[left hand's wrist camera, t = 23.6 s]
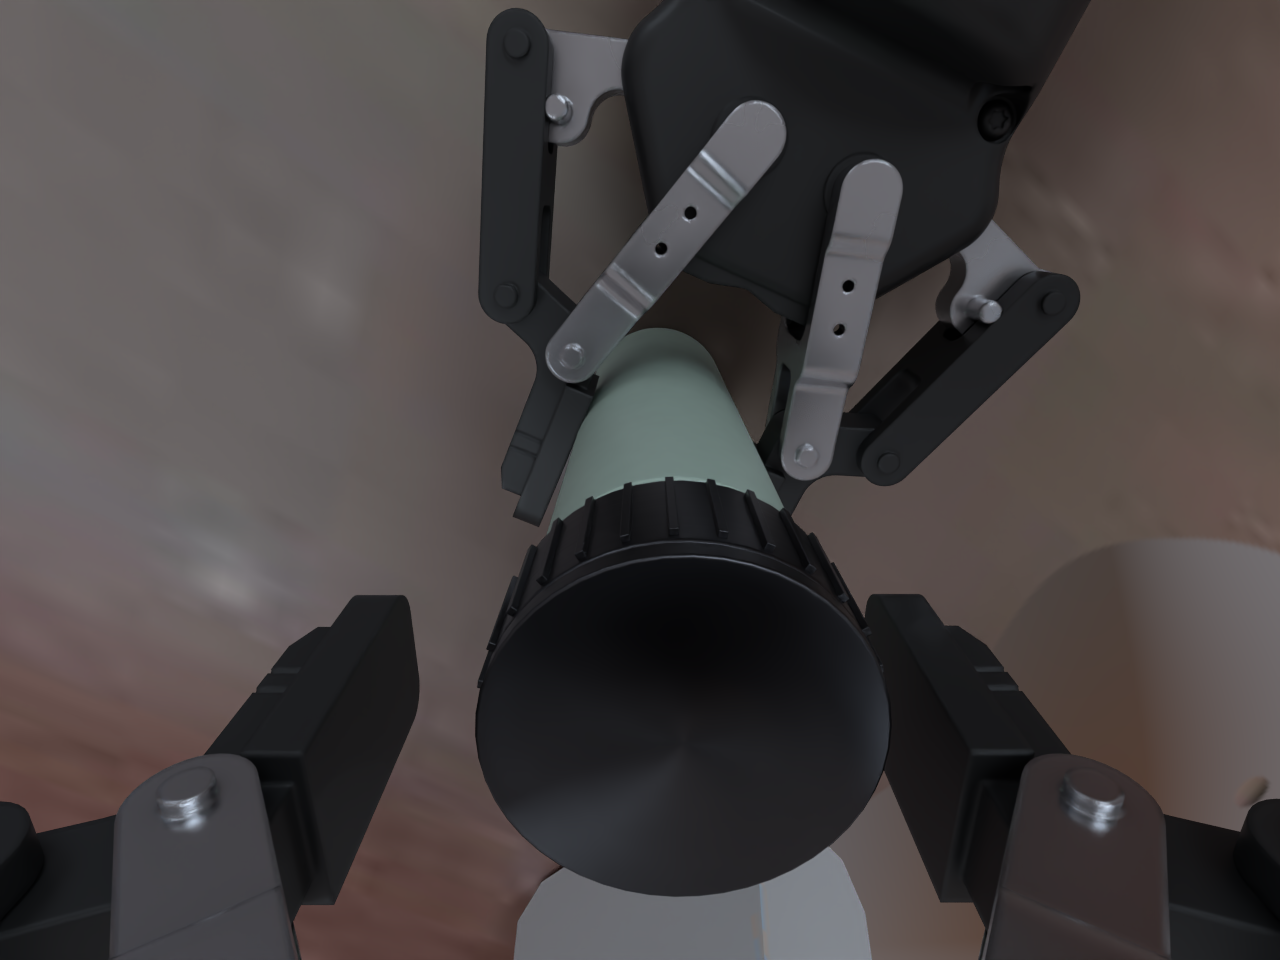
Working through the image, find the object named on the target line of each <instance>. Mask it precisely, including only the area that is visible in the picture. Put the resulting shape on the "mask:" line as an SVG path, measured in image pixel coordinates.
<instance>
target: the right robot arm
mask: <svg viewBox="0 0 1280 960" xmlns="http://www.w3.org/2000/svg"><path fill="white" fill-rule="evenodd" d="M1090 1H1091V0H663V1H662V2H661V3H660V5H659V6H658V7H657V8H655V9H654V10H653V11H652V12H651V13H650V14H648V15H647V16H646V17H645V18H644V19H643V20H642V21H641V22H640V23H639V24H638V25H637V26H636V28H635V29H634V31H633V32H632V34H631V35H630V37H629V39H622V38H614V37H606V36H598V35H590V34H582V33H574V32H566V31H558V30H550V29H546V28H545V27H544V25H543V24H542V22H541V21H540V20H539V19H538V18H537V17H536V16H535V15H534V14H533V13H531V12H529V11H527V10H524V9H520V8H511V9H507V10H505V11H503V12H501V13H500V14H498V15H497V16H496V17H495V18H494V20H493V21H492V23H491V25H490V27H489V29H488V33H487V41H486V72H485V103H484V134H483V165H482V196H481V227H480V258H479V289H478V295H479V301H480V304H481V307H482V309H483V310H484V312H485V313H486V314H487V315H488V316H489V317H490V318H491V319H493V320H495V321H497V322H499V323H503V324H506V325H507V326H508V327H509V328H510V329H511V330H512V331H514V332H515V333H516V334H517V335H518V336H519V337H520V338H521V339H522V340H523V341H525V342H526V343H527V345H528V346H529V347H530V348H531V350H532V352H533V354H534V356H535V359H536V363H537V374H536V378H535V381H534V384H533V387H532V389H531V392H530V394H529V397H528V399H527V402H526V405H525V407H524V410H523V412H522V415H521V417H520V420H519V423H518V425H517V428H516V431H515V433H514V435H513V438H512V441H511V443H510V446H509V448H508V451H507V453H506V456H505V459H504V461H503V464H502V466H501V478H502V488H503V489H505V490H508V491H510V492H513V493H515V494H518V495H520V496H521V497H520V500H519V502H518V505H517V507H516V509H515V512H514V515H513V517H515V518H518V519H520V520H523V521H525V522H528V523H530V524H533V525H535V526H538V527H539V525H540V523H541V521H542V519H543V516H544V514H545V511H546V509H547V507H548V504H549V502H550V500H551V497H552V495H553V492H554V490H555V488H556V485H557V483H558V480H559V478H560V476H561V473H562V471H563V469H564V466H565V464H566V461H567V459H568V457H569V454H570V452H571V450H572V447H573V445H574V442H575V440H576V437H577V433H578V431H579V429H580V427H581V425H582V423H583V421H584V419H585V416H586V414H587V412H588V409H589V407H590V404H591V402H592V400H593V397H594V394H595V390H596V387H597V383H598V380H599V376H598V375H595V374H594V373H595V371H596V370H597V369H598V368H599V367H600V365H601V364H602V363H603V362H604V361H605V359H606V358H607V357H608V356H609V354H610V353H611V352H612V351H613V350H614V348H615V347H616V346H617V345H618V344H619V342H620V341H621V340H622V339H623V338H624V336H625V335H626V334H627V333H628V332H629V330H630V329H631V328H632V327H633V326H634V324H635V323H636V322H637V321H638V320H639V319H640V317H641V316H642V315H643V314H644V313H646V312H647V311H648V310H649V309H650V308H651V307H652V306H653V304H654V303H655V302H656V301H657V300H658V299H659V298H660V296H661V295H662V294H663V293H664V292H665V290H666V289H667V288H668V287H669V286H670V284H671V283H672V282H673V281H674V280H675V278H676V277H677V276H678V275H679V274H680V272H681V271H684V272H686V273H688V274H690V275H693V276H695V277H697V278H699V279H702V280H704V281H706V282H708V283H712V284H719V285H725V286H732V287H738V288H744V289H747V290H748V291H750V292H751V293H752V294H753V295H754V296H756V297H757V298H758V299H759V300H760V301H761V302H763V303H764V304H765V305H766V306H767V307H769V308H770V309H771V310H772V311H773V312H775V313H777V314H779V315H781V321H780V327H779V332H778V338H777V346H776V356H777V363H776V370H775V376H774V381H773V387H772V392H771V397H770V403H769V408H768V414H767V419H766V425H765V431H764V433H763V435H762V437H761V439H760V441H759V443H758V444H756V443H754V442H753V444H754V446H755V448H756V450H757V452H758V454H759V456H760V458H761V460H762V462H763V465H764V467H765V469H766V471H767V473H768V475H769V477H770V479H771V481H772V483H773V485H774V488H775V490H776V492H777V494H778V496H779V498H780V500H781V502H782V504H783V506H784V508H785V509H786V510H788V511H789V513H790V515H792V513H793V511H794V510H795V508H796V506H797V504H798V502H799V500H800V499H801V497H802V495H803V493H804V492H805V490H806V489H807V488H808V487H809V486H810V485H811V484H812V483H813V482H815V481H816V480H818V479H820V478H822V477H826V476H831V475H843V476H861V477H866V478H867V479H868V480H869V481H870V482H871V483H873V484H875V485H879V486H890V485H894V484H896V483H898V482H900V481H902V480H903V479H904V478H905V477H906V476H907V475H908V474H910V473H911V472H912V471H913V470H914V469H915V468H916V467H917V466H918V465H919V464H920V463H921V462H922V461H923V460H924V459H925V458H926V457H927V456H928V455H929V454H930V453H932V452H933V451H934V450H935V449H936V448H937V447H938V446H939V445H940V444H941V443H942V442H943V441H944V440H945V439H946V438H947V437H948V436H949V435H950V434H951V433H952V432H954V431H955V430H956V429H957V428H958V427H959V426H960V425H961V424H962V423H963V422H964V421H965V420H966V419H967V418H968V417H969V416H970V415H971V414H972V413H973V412H975V411H976V410H977V409H978V408H979V407H980V406H981V405H982V404H983V403H984V402H985V401H986V400H987V399H988V398H989V397H990V396H991V395H992V394H993V393H994V392H995V391H997V390H998V389H999V388H1000V387H1001V386H1002V385H1003V384H1004V383H1005V382H1006V381H1007V380H1008V379H1009V378H1010V377H1011V376H1012V375H1013V374H1014V373H1015V372H1016V371H1017V370H1019V369H1020V368H1021V367H1022V366H1023V365H1024V364H1025V363H1026V362H1027V361H1028V360H1029V359H1030V358H1031V357H1032V356H1033V355H1034V354H1035V353H1036V352H1037V351H1038V350H1040V349H1041V348H1042V347H1043V346H1044V345H1045V344H1046V343H1047V342H1048V341H1049V340H1050V339H1051V338H1052V337H1053V336H1054V335H1055V334H1056V333H1057V332H1058V331H1059V330H1060V329H1062V328H1063V327H1064V326H1065V325H1066V324H1067V323H1068V322H1069V321H1070V320H1071V319H1072V318H1073V316H1074V315H1075V313H1076V311H1077V309H1078V307H1079V303H1080V291H1079V288H1078V286H1077V284H1076V282H1075V281H1074V280H1073V279H1071V278H1070V277H1068V276H1066V275H1063V274H1057V273H1052V272H1049V271H1046V270H1042V269H1040V268H1038V267H1037V266H1036V265H1035V264H1034V263H1033V262H1032V261H1031V260H1030V259H1029V258H1028V257H1027V256H1026V255H1025V253H1024V252H1023V251H1022V250H1021V249H1020V248H1019V247H1018V246H1017V245H1016V244H1015V243H1014V242H1013V241H1012V240H1011V239H1010V238H1009V237H1008V236H1007V235H1006V234H1005V232H1004V231H1003V230H1002V229H1001V228H1000V227H999V226H998V225H997V224H996V223H995V222H994V221H993V220H992V218H993V216H994V213H995V210H996V207H997V203H998V198H999V179H1000V171H1001V166H1002V161H1003V157H1004V154H1005V151H1006V148H1007V145H1008V143H1009V141H1010V139H1011V137H1012V135H1013V133H1014V132H1015V130H1016V128H1017V127H1018V125H1019V124H1020V122H1021V121H1022V119H1023V118H1024V116H1025V115H1026V113H1027V112H1028V110H1029V108H1030V107H1031V105H1032V104H1033V102H1034V100H1035V99H1036V97H1037V96H1038V94H1039V92H1040V91H1041V89H1042V87H1043V85H1044V83H1045V82H1046V80H1047V78H1048V76H1049V74H1050V73H1051V71H1052V69H1053V67H1054V66H1055V64H1056V62H1057V60H1058V58H1059V57H1060V55H1061V53H1062V51H1063V49H1064V48H1065V46H1066V44H1067V42H1068V40H1069V39H1070V37H1071V35H1072V33H1073V31H1074V30H1075V28H1076V26H1077V24H1078V22H1079V21H1080V19H1081V17H1082V15H1083V13H1084V12H1085V10H1086V8H1087V6H1088V4H1089V3H1090ZM617 95H624V96H625V101H626V106H627V111H628V116H629V121H630V126H631V130H632V135H633V140H634V145H635V150H636V155H637V160H638V164H639V169H640V174H641V179H642V184H643V189H644V194H645V198H646V203H647V208H648V213H649V215H648V216H647V217H646V218H645V220H644V221H643V222H642V223H641V225H640V226H639V227H638V228H637V230H636V231H635V232H634V233H633V235H632V236H631V237H630V238H629V240H628V241H627V242H626V243H625V245H624V246H623V247H622V249H621V250H620V251H619V252H618V254H617V255H616V256H615V257H614V259H613V260H612V261H611V262H610V264H609V265H608V266H607V268H606V269H605V270H604V271H603V273H602V274H601V275H600V276H599V278H598V279H597V280H596V281H595V283H594V284H593V285H592V286H591V288H590V289H589V290H588V291H587V293H586V294H585V295H584V297H583V298H582V299H581V300H580V302H579V303H578V304H577V305H576V304H575V303H574V302H573V301H572V300H571V299H570V298H569V297H568V296H566V295H565V294H564V293H563V292H562V291H561V290H560V289H559V288H558V287H557V286H556V285H555V284H554V283H553V282H552V281H551V280H549V269H550V253H551V238H552V222H553V207H554V192H555V176H556V161H557V146H564V147H568V146H573V145H575V144H577V143H579V142H580V141H582V140H583V139H584V138H585V136H586V135H587V133H588V132H589V129H590V127H591V122H592V118H593V115H594V112H595V110H596V109H597V107H598V106H599V105H600V103H602V102H603V101H604V100H606V99H607V98H609V97H612V96H617ZM657 244H659V246H660V247H657V246H656V245H657ZM948 258H949V259H950V264H951V271H950V276H949V279H948V281H947V283H946V284H945V286H944V287H943V288H942V290H941V291H940V293H939V295H938V297H937V300H936V307H935V309H936V314H937V317H938V319H939V321H938V322H937V323H936V324H935V325H934V326H933V327H932V328H931V329H930V330H929V331H928V332H927V333H926V334H925V335H924V336H923V337H922V338H921V339H920V340H919V341H918V342H917V343H916V344H915V346H914V347H913V348H912V349H911V350H910V351H909V352H908V353H907V354H906V355H905V356H904V357H903V358H902V359H901V360H900V361H899V362H898V363H897V364H896V365H895V366H894V367H893V368H892V369H891V370H890V371H889V372H888V373H887V374H886V375H885V376H884V377H883V378H882V379H881V380H880V381H879V382H878V383H877V384H876V385H875V386H874V387H873V388H872V389H871V390H870V391H869V392H868V393H867V394H866V395H865V396H864V397H863V398H862V399H861V400H860V401H859V402H858V403H857V404H856V405H855V406H854V407H853V408H852V409H851V410H850V411H849V413H845V412H843V409H844V404H845V399H846V395H847V392H848V390H849V388H850V387H851V386H852V385H853V384H854V382H855V381H856V378H857V376H858V372H859V368H860V364H861V359H862V355H863V350H864V346H865V341H866V337H867V332H868V328H869V323H870V319H871V315H872V310H873V306H874V301H875V299H877V298H879V297H881V296H882V295H884V294H886V293H888V292H890V291H891V290H893V289H895V288H897V287H898V286H900V285H902V284H904V283H905V282H907V281H909V280H911V279H912V278H914V277H916V276H918V275H919V274H921V273H923V272H925V271H926V270H928V269H930V268H932V267H934V266H935V265H937V264H939V263H941V262H942V261H944V260H946V259H948ZM837 324H839V329H838V330H837V331H835V332H833V329H834V327H835V326H836V325H837Z"/></svg>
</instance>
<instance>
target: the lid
mask: <svg viewBox="0 0 1280 960" xmlns="http://www.w3.org/2000/svg"><path fill="white" fill-rule="evenodd" d="M871 634H872V632H871V630H870V628H869V626H868V624H867V622H866V621H865V619H864V617H863V615H862V613H861V611H860V610H859V608H858V606H857V604H856V602H855V600H854V599H853V597H852V595H851V593H850V591H849V589H848V588H847V586H846V584H845V582H844V580H843V578H842V577H841V575H840V573H839V571H838V569H837V567H836V566H835V564H834V562H833V563H830V561H829V559H828V557H827V556H826V554H825V552H824V550H823V548H822V546H821V544H820V542H819V541H818V539H817V537H816V536H815V535H814V534H813V533H811V534H809V535H807V534H806V533H805V532H804V531H803V530H802V529H801V528H800V527H799V526H798V525H796V524H795V523H794V521H793V519H792V517H791V515H790V513H789V511H788V510H786V509H785V508H782V509H781V510H780V511H779V510H777V509H776V508H774V507H773V506H771V505H770V504H768V503H766V502H764V501H762V500H760V499H758V498H757V497H756V495H755V492H754V491H751V490H749V489H747V490H746V492H745V493H744V492H741V491H738V490H735V489H732V488H729V487H725V486H720V485H716V482H715V480H713V479H707V481H706V482H696V481H684V480H678V481H674V479H673V477H665V481H657V482H651V483H645V484H638V485H634V486H633V485H632V482H629V483H625V484H624V487H623V489H620V490H617V491H613V492H611V493H609V494H606V495H604V496H602V497H599V498H597V499H594V497H593V496H591V497H589V498H587V499H586V500H585V505H584V506H582V507H581V508H579V509H577V510H576V511H574V512H572V513H571V514H570V515H569V516H567V517H566V518H565V519H564V520H561V519H560V518H559V517H558V518H557V519H556V520H555V521H553V524H552V527H551V531H550V532H549V533H548V534H547V535H546V536H545V537H544V538H543V539H542V540H541V542H540V543H539V544H538V546H537V547H535V546H534V545H531V546H530V547H529V549H528V551H527V554H526V556H525V559H524V562H523V565H522V568H521V571H520V574H519V577H516V576H513V577H512V580H511V582H510V585H509V588H508V590H507V593H506V596H505V599H504V601H503V604H502V607H501V610H500V612H499V615H498V618H497V621H496V624H495V626H494V629H493V632H492V635H491V637H490V640H489V643H488V646H487V648H486V649H487V650H489V651H488V654H487V657H486V660H485V663H484V665H483V668H482V671H481V674H480V677H479V680H478V685H477V687H478V688H480V692H479V697H478V703H477V708H476V719H475V738H476V745H477V752H478V758H479V762H480V765H481V768H482V771H483V775H484V778H485V781H486V783H487V785H488V787H489V789H490V791H491V794H492V796H493V798H494V800H495V802H496V803H497V805H498V806H499V808H500V809H501V811H502V812H503V814H504V815H505V817H506V818H507V819H508V821H509V822H510V823H511V824H512V825H513V826H514V827H515V828H516V830H517V831H518V832H519V833H520V834H521V835H522V836H523V837H524V838H525V839H526V840H527V841H528V842H529V843H531V844H532V845H533V846H534V847H535V848H536V849H537V850H539V851H540V852H541V853H543V854H544V855H546V856H547V857H549V858H550V859H552V860H553V861H554V862H556V863H557V864H559V865H561V866H563V867H565V868H566V869H568V870H570V871H572V872H574V873H576V874H578V875H580V876H582V877H585V878H587V879H590V880H592V881H595V882H597V883H600V884H603V885H606V886H610V887H613V888H617V889H620V890H624V891H629V892H635V893H640V894H646V895H655V896H669V897H690V896H705V895H713V894H722V893H727V892H731V891H736V890H740V889H745V888H749V887H752V886H755V885H758V884H761V883H764V882H767V881H770V880H772V879H774V878H777V877H779V876H781V875H783V874H785V873H788V872H790V871H792V870H794V869H796V868H797V867H799V866H801V865H802V864H804V863H806V862H807V861H809V860H811V859H812V858H814V857H815V856H817V855H818V854H819V853H821V852H822V851H823V850H825V849H826V848H827V847H829V846H830V845H831V844H832V843H834V842H835V841H836V840H837V839H838V838H839V837H840V836H841V835H842V834H843V833H844V832H845V831H846V830H847V829H848V828H849V827H850V826H851V825H852V823H853V822H854V821H855V820H856V818H857V817H858V816H859V815H860V813H861V812H862V811H863V810H864V808H865V806H866V805H867V803H868V801H869V800H870V798H871V796H872V795H873V793H874V791H875V790H876V787H877V785H878V783H879V780H880V778H881V775H882V773H883V771H884V768H885V764H886V760H887V756H888V752H889V748H890V739H891V728H892V717H891V702H890V697H889V693H888V688H887V684H886V680H885V677H884V674H883V672H884V668H883V664H882V662H881V660H880V658H879V656H878V655H877V653H876V651H875V649H874V647H873V645H872V643H871V641H870V640H869V638H868V636H869V635H871Z"/></svg>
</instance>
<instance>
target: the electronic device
mask: <svg viewBox="0 0 1280 960" xmlns="http://www.w3.org/2000/svg"><path fill="white" fill-rule="evenodd" d="M514 960H872V957H871V950H870V943H869V936H868V929H867V923H866V916H865V911H864V909H863V907H862V905H861V902H860V900H859V898H858V895H857V893H856V891H855V888H854V886H853V884H852V881H851V879H850V877H849V874H848V872H847V870H846V867H845V865H844V863H843V860H842V859H841V858H840V857H839V856H838V855H837V854H836V853H835V852H834V851H833V850H832V849H831V848H830V847H827V848H826V849H825V850H823V851H822V852H821V853H819V854H818V855H817V856H815V857H814V858H812V859H811V860H809V861H807V862H806V863H804V864H802V865H801V866H799V867H797V868H796V869H794V870H792V871H790V872H788V873H785V874H783V875H781V876H779V877H777V878H774V879H772V880H770V881H767V882H764V883H761V884H758V885H755V886H752V887H749V888H745V889H740V890H736V891H731V892H727V893H722V894H713V895H705V896H690V897H669V896H655V895H646V894H640V893H635V892H629V891H624V890H620V889H617V888H613V887H610V886H606V885H603V884H600V883H597V882H595V881H592V880H590V879H587V878H585V877H582V876H580V875H578V874H576V873H574V872H572V871H570V870H568V869H566V868H565V867H564V868H562V869H561V870H559V871H558V872H556V873H555V874H553V875H551V876H550V877H548V878H547V879H545V880H544V881H542V882H541V884H540V886H539V887H538V889H537V891H536V892H535V894H534V896H533V897H532V899H531V900H530V902H529V904H528V905H527V907H526V909H525V910H524V912H523V914H522V915H521V917H520V918H519V920H518V924H517V933H516V943H515V952H514Z"/></svg>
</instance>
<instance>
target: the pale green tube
mask: <svg viewBox="0 0 1280 960" xmlns="http://www.w3.org/2000/svg"><path fill="white" fill-rule="evenodd" d="M595 375H598V376H599V380H598V383H597V387H596V390H595V394H594V397H593V400H592V402H591V404H590V407H589V409H588V412H587V414H586V416H585V419H584V421H583V423H582V425H581V427H580V429H579V431H578V433H577V437H576V440H575V443H574V446H573V449H572V453H571V456H570V459H569V463H568V466H567V469H566V472H565V476H564V479H563V482H562V486H561V489H560V492H559V495H558V499H557V502H556V505H555V509H554V512H553V515H552V518H551V522H550V525H549V528H548V532H547V534H548V533H549V532H550V531H551V527H552V524H553V521H555V520H556V519H557V518H558V517H559V518H560V519H561V520H564V519H565V518H566V517H567V516H569V515H570V514H571V513H572V512H574V511H576V510H577V509H579V508H581V507H582V506H584V505H585V500H586V499H587V498H589V497H591V496H593V497H594V499H597V498H599V497H602V496H604V495H606V494H609V493H611V492H613V491H617V490H620V489H623V487H624V484H625V483H629V482H632V485H633V486H634V485H638V484H645V483H651V482H657V481H665V477H673V479H674V481H678V480H684V481H696V482H706V481H707V479H713V480H715V482H716V485H720V486H725V487H729V488H732V489H735V490H738V491H741V492H744V493H745V492H746V490H747V489H749V490H751V491H754V492H755V495H756V497H757V498H758V499H760V500H762V501H764V502H766V503H768V504H770V505H771V506H773V507H774V508H776V509H777V510H779V511H780V510H781V509H782V508H784V506H783V504H782V502H781V500H780V498H779V496H778V494H777V492H776V490H775V488H774V485H773V483H772V481H771V479H770V477H769V475H768V473H767V471H766V469H765V467H764V465H763V462H762V460H761V458H760V456H759V454H758V452H757V450H756V448H755V446H754V444H753V441H752V439H751V437H750V435H749V433H748V431H747V429H746V427H745V425H744V423H743V420H742V418H741V416H740V414H739V412H738V410H737V408H736V406H735V404H734V402H733V400H732V397H731V395H730V393H729V391H728V389H727V387H726V385H725V383H724V381H723V379H722V376H721V374H720V372H719V370H718V368H717V366H716V364H715V362H714V360H713V358H712V357H711V355H710V354H709V352H708V351H707V350H706V349H705V348H704V347H703V346H702V345H701V344H700V343H699V342H698V341H696V340H695V339H693V338H692V337H690V336H688V335H686V334H684V333H682V332H679V331H676V330H673V329H668V328H648V329H643V330H639V331H636V332H633V333H631V334H629V335H627V336H625V337H624V338H623V339H622V340H621V341H620V342H619V344H618V345H617V346H616V347H615V348H614V350H613V351H612V352H611V353H610V354H609V356H608V357H607V358H606V359H605V361H604V362H603V363H602V364H601V365H600V367H599V368H598V369H597V371H596V374H595Z"/></svg>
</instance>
